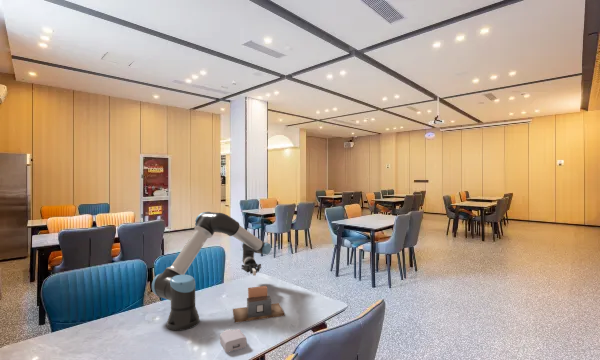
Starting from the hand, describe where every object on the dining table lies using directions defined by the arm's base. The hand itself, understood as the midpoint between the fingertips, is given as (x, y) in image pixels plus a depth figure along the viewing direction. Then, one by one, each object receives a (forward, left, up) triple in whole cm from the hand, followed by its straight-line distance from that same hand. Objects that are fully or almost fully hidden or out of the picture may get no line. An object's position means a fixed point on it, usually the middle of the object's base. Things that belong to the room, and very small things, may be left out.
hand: (254, 273), depth 183 cm
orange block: (-1, -19, -15) cm, 24 cm away
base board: (-1, -17, -17) cm, 24 cm away
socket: (-1, -21, -15) cm, 26 cm away
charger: (-16, -43, -17) cm, 49 cm away
